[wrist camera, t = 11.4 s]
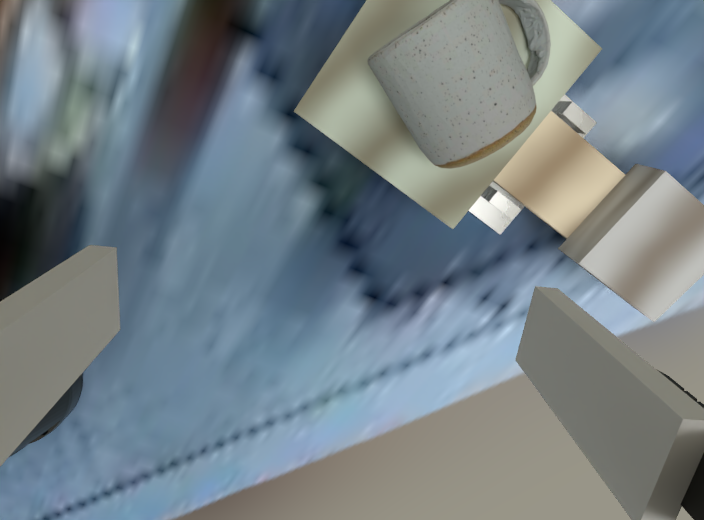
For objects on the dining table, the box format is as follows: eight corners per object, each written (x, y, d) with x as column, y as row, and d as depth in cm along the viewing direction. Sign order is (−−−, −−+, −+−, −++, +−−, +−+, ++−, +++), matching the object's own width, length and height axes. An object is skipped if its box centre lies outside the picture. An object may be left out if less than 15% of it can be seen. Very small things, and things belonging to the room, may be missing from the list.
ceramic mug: (425, 168, 33) (452, 188, 25) (360, 62, 30) (370, 51, 23) (561, 77, 31) (632, 71, 24) (504, -43, 29) (563, -90, 21)
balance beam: (296, 109, 33) (290, 112, 29) (429, -91, 30) (445, -124, 25) (611, 343, 41) (645, 375, 36) (751, 207, 37) (808, 223, 32)
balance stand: (429, 180, 42) (446, 197, 35) (521, 62, 38) (560, 55, 32) (496, 231, 43) (524, 256, 36) (589, 121, 40) (640, 127, 33)
